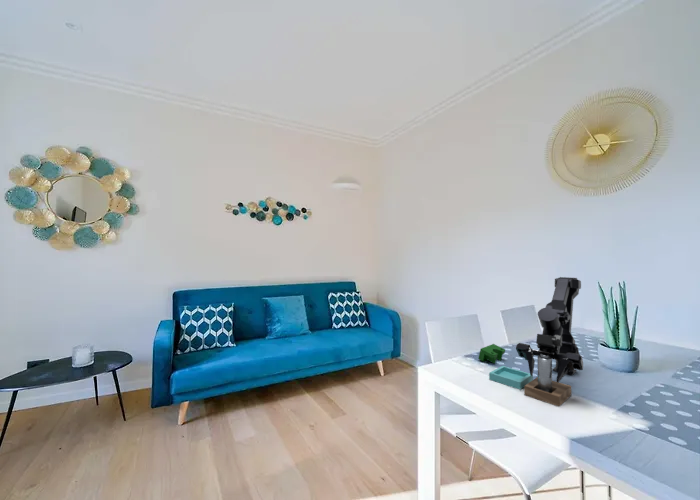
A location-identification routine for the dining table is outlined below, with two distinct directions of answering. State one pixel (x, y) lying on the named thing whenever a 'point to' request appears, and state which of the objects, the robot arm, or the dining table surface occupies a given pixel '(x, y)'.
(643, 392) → the dining table surface
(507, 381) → the tray
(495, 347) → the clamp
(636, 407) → the dining table surface
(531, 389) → the socket block
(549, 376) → the grey capped bottle
